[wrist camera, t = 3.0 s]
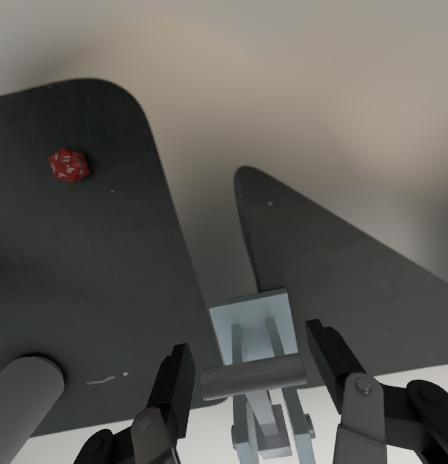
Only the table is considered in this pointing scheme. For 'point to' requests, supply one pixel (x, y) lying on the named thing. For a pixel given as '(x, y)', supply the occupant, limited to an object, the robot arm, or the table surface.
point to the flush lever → (258, 395)
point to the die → (69, 165)
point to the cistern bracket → (258, 347)
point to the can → (25, 400)
